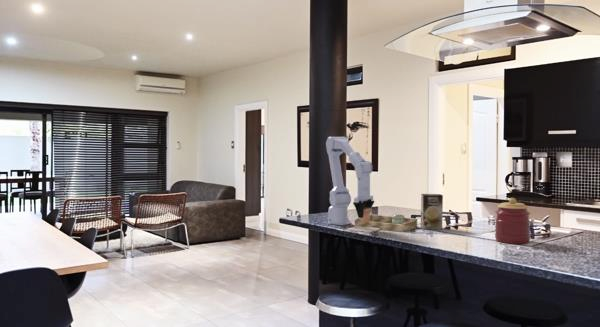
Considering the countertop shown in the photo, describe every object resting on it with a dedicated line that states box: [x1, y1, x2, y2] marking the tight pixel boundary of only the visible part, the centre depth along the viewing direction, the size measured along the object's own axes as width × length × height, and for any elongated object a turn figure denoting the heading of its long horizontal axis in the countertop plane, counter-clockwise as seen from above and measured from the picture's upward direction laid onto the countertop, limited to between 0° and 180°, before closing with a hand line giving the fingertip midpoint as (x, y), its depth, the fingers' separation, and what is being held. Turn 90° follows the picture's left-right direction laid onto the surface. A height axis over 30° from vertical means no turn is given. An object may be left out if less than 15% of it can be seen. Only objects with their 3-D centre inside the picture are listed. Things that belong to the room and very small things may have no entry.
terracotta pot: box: [358, 207, 372, 222], centre depth 216 cm, size 6×6×6 cm
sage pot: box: [391, 214, 405, 225], centre depth 220 cm, size 6×6×6 cm
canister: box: [494, 197, 531, 245], centre depth 188 cm, size 13×13×18 cm
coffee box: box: [420, 193, 444, 230], centre depth 219 cm, size 9×6×16 cm
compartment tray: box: [354, 213, 418, 232], centre depth 224 cm, size 25×15×4 cm, turn 52°
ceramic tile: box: [347, 226, 381, 233], centre depth 216 cm, size 12×9×1 cm
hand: (363, 216), depth 216 cm, fingers closed on terracotta pot, 6 cm apart
